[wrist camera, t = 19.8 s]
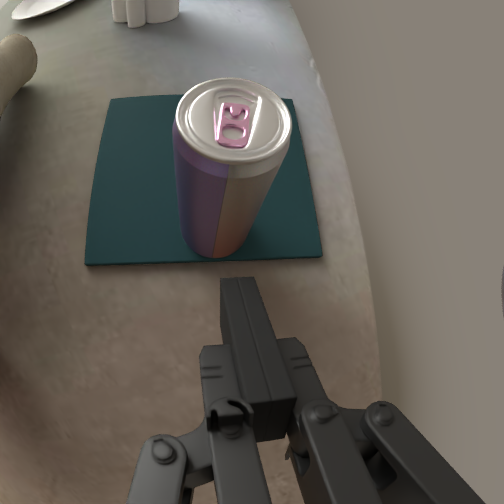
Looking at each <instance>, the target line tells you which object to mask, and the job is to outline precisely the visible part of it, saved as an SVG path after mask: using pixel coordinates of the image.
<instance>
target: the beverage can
mask: <svg viewBox="0 0 504 504" xmlns="http://www.w3.org/2000/svg"><path fill="white" fill-rule="evenodd" d="M291 131H292V119H291V115H290V112H289V110H288V108H287V106H286V105H285V103H284V102H283V101H282V99H281V98H280V97H279V96H278V95H277V94H275V93H274V92H273V91H271V90H270V89H268V88H267V87H265V86H263V85H261V84H258V83H256V82H253V81H250V80H246V79H240V78H218V79H213V80H209V81H206V82H203V83H201V84H199V85H197V86H195V87H193V88H192V89H191V90H189V91H188V92H187V93H186V94H185V95H184V96H183V98H182V99H181V101H180V102H179V104H178V107H177V110H176V117H175V119H174V123H173V128H172V135H173V150H174V164H175V176H176V188H177V199H178V209H179V218H180V228H181V233H182V237H183V239H184V241H185V242H186V244H187V245H188V246H189V247H190V248H191V249H192V250H193V251H194V252H196V253H197V254H199V255H202V256H205V257H209V258H221V257H225V256H228V255H231V254H232V253H234V252H235V251H237V250H238V249H239V248H240V247H241V246H242V244H243V243H244V241H245V239H246V237H247V235H248V233H249V231H250V229H251V227H252V225H253V222H254V220H255V218H256V216H257V214H258V212H259V210H260V208H261V206H262V203H263V201H264V199H265V197H266V195H267V193H268V191H269V189H270V187H271V184H272V182H273V180H274V178H275V176H276V174H277V172H278V170H279V168H280V166H281V164H282V161H283V159H284V157H285V155H286V153H287V151H288V148H289V144H290V135H291Z"/></svg>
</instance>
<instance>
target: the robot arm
mask: <svg viewBox="0 0 504 504" xmlns="http://www.w3.org/2000/svg"><path fill="white" fill-rule="evenodd" d="M220 327H221V333H222V339H223V344H224V345H209V346H203V349H202V351H201V353H200V355H199V361H200V373H201V384H202V393H203V403H204V411H205V417H204V420H203V422H202V423H201V425H200V426H199V427H198V428H197V429H196V430H194V431H192V432H190V433H188V434H185V435H182V436H179V437H173V436H171V435H166V434H159V435H156V436H152V437H150V438H149V439H148V440H146V441H145V442H144V444H143V446H142V448H141V451H140V454H139V458H138V461H137V465H136V468H135V472H134V476H133V479H132V483H131V486H130V490H129V494H128V498H127V501H126V504H192V499H193V493H194V488H195V487H197V486H200V485H203V484H205V483H208V482H211V481H213V480H214V484H215V490H216V496H217V502H218V504H272V502H271V498H270V494H269V491H268V487H267V483H266V479H265V475H264V471H263V468H262V464H261V460H260V456H259V452H258V448H257V444H256V443H257V442H264V441H270V440H277V439H283V438H285V435H286V432H287V435H288V438H289V441H290V443H289V446H288V448H287V451H286V454H285V460H288V459H289V457H290V458H291V461H292V465H293V468H294V471H295V474H296V478H297V481H298V484H299V487H300V490H301V493H302V497H303V500H304V503H305V504H485V503H484V502H483V500H482V499H481V498H480V497H479V496H478V495H477V494H476V493H475V492H474V491H473V490H472V489H471V487H470V486H469V485H468V484H467V483H466V482H465V481H464V480H463V479H462V478H461V477H460V475H459V474H458V473H457V472H456V471H455V470H454V469H453V468H452V467H451V466H450V465H449V463H448V462H447V461H446V460H445V459H444V458H443V457H442V456H441V455H440V454H439V453H438V452H437V451H436V449H435V448H434V447H433V446H432V445H431V444H430V443H429V442H428V441H427V440H426V438H424V436H423V435H422V434H421V433H420V432H419V431H418V430H417V429H416V428H415V427H414V425H413V424H412V423H411V422H410V421H409V420H408V419H407V418H406V417H405V416H404V415H403V414H402V412H401V411H399V409H398V408H397V407H396V406H394V405H393V404H391V403H389V402H386V401H377V402H374V403H372V404H371V405H370V406H368V407H367V409H347V408H342V407H339V406H338V405H337V404H335V403H334V402H332V401H331V400H329V399H328V397H327V395H326V393H325V391H324V389H323V387H322V384H321V382H320V380H319V378H318V375H317V373H316V371H315V369H314V366H312V362H311V360H310V358H309V355H308V353H307V351H306V349H305V346H304V345H303V344H302V343H301V342H300V341H299V340H298V339H297V338H295V337H293V338H284V339H276V336H275V333H274V331H273V328H272V325H271V322H270V320H269V317H268V314H267V311H266V309H265V306H264V303H263V300H262V297H261V295H260V292H259V289H258V286H257V284H256V281H255V278H254V277H235V278H220Z"/></svg>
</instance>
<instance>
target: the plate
mask: <svg viewBox="0 0 504 504" xmlns="http://www.w3.org/2000/svg"><path fill="white" fill-rule="evenodd" d="M73 1H75V0H24V1H22V2H21V3H20V4H19V5H18V6H17V7H16V8H15V9H14V11H13V12H12V15H11V16H12V18H13V19H15V20H19V19H26V18H30V17H37V16H42V15H45V14H48V13H51V12H53V11H56V10H58V9H60V8H62V7H64V6H66V5H68V4H70V3H72V2H73Z"/></svg>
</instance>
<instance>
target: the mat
mask: <svg viewBox="0 0 504 504" xmlns="http://www.w3.org/2000/svg"><path fill="white" fill-rule="evenodd" d="M184 95H185V94H182V95H155V96H140V97H127V98H117V99H111V101H110V104H109V108H108V112H107V116H106V120H105V124H104V129H103V133H102V138H101V142H100V147H99V152H98V157H97V163H96V168H95V174H94V180H93V186H92V193H91V200H90V208H89V217H88V226H87V236H86V249H85V265H86V266H94V265H128V264H160V263H190V262H218V261H245V260H271V259H295V258H319V257H322V249H321V242H320V236H319V230H318V224H317V218H316V212H315V207H314V201H313V195H312V190H311V185H310V179H309V174H308V169H307V164H306V159H305V154H304V150H303V145H302V140H301V136H300V131H299V127H298V122H297V118H296V114H295V109H294V105H293V101H292V99H284V98H281V99H282V101H283V102H284V103H285V105H286V106H287V108H288V110H289V112H290V115H291V119H292V131H291V135H290V144H289V148H288V151H287V153H286V155H285V157H284V159H283V161H282V164H281V166H280V168H279V170H278V172H277V174H276V176H275V178H274V180H273V182H272V184H271V187H270V189H269V191H268V193H267V195H266V197H265V199H264V201H263V203H262V206H261V208H260V210H259V212H258V214H257V216H256V218H255V220H254V222H253V225H252V227H251V229H250V231H249V233H248V235H247V237H246V239H245V241H244V243H243V244H242V246H241V247H240V248H239V249H238V250H237V251H235V252H234V253H232V254H231V255H228V256H225V257H221V258H209V257H205V256H202V255H199V254H197V253H196V252H194V251H193V250H192V249H191V248H190V247H189V246H188V245H187V244H186V242H185V241H184V239H183V237H182V233H181V228H180V218H179V209H178V199H177V188H176V176H175V164H174V150H173V135H172V128H173V123H174V119H175V117H176V110H177V107H178V104H179V102H180V101H181V99H182V98H183V96H184Z"/></svg>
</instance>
